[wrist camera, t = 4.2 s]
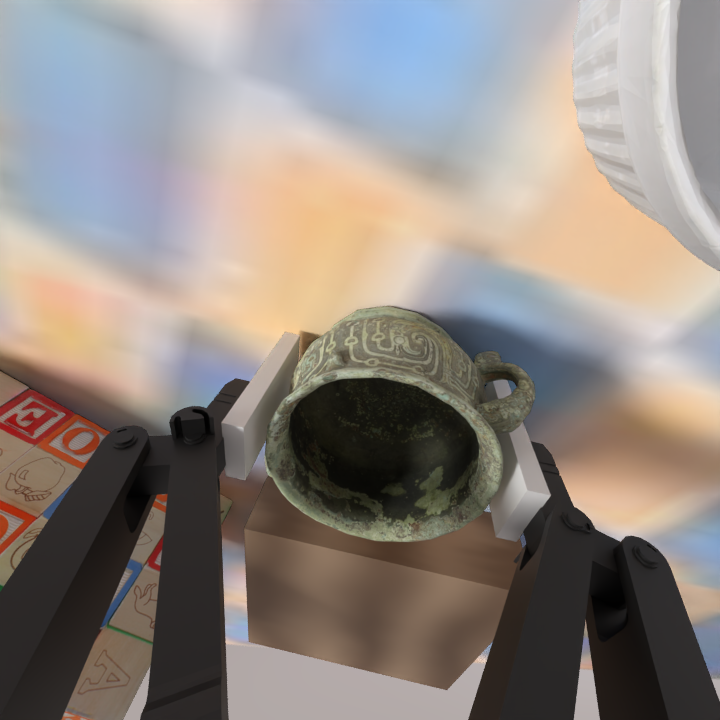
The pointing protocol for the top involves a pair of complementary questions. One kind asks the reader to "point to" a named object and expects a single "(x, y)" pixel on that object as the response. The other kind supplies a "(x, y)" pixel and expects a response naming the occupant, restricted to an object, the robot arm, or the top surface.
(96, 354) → the top surface
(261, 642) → the walnut block
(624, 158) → the ramekin
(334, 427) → the vessel
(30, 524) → the stack of blocks
